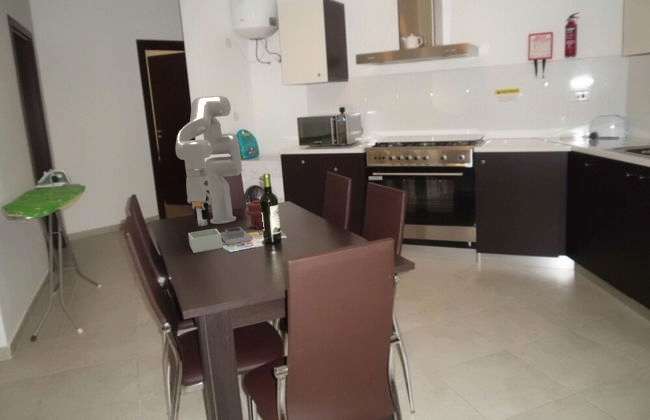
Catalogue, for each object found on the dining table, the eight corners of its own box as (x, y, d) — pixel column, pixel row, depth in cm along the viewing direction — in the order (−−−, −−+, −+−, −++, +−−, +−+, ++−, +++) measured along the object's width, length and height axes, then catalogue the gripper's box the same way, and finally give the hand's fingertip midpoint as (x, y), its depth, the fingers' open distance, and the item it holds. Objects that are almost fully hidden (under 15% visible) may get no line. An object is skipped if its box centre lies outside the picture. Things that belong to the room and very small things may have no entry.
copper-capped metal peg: (202, 223, 204) (199, 199, 202) (211, 223, 202) (208, 199, 200) (194, 226, 200) (190, 201, 198) (203, 226, 198) (199, 202, 196)
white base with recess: (220, 237, 217) (219, 228, 216) (243, 233, 221) (242, 224, 220) (226, 244, 204) (225, 235, 203) (250, 240, 208) (249, 231, 207)
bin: (190, 246, 207) (188, 232, 205) (217, 241, 211) (216, 228, 209) (193, 252, 196) (191, 239, 195) (222, 247, 200) (220, 234, 199)
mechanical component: (273, 224, 233) (266, 230, 223) (252, 225, 235) (245, 230, 225) (270, 198, 230) (263, 203, 221) (250, 199, 232) (242, 203, 223)
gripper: (218, 172, 195) (223, 217, 199) (189, 171, 205) (195, 215, 208) (203, 174, 189) (209, 222, 193) (174, 174, 198) (180, 219, 202)
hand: (202, 218), depth 201 cm, fingers closed on copper-capped metal peg, 3 cm apart
